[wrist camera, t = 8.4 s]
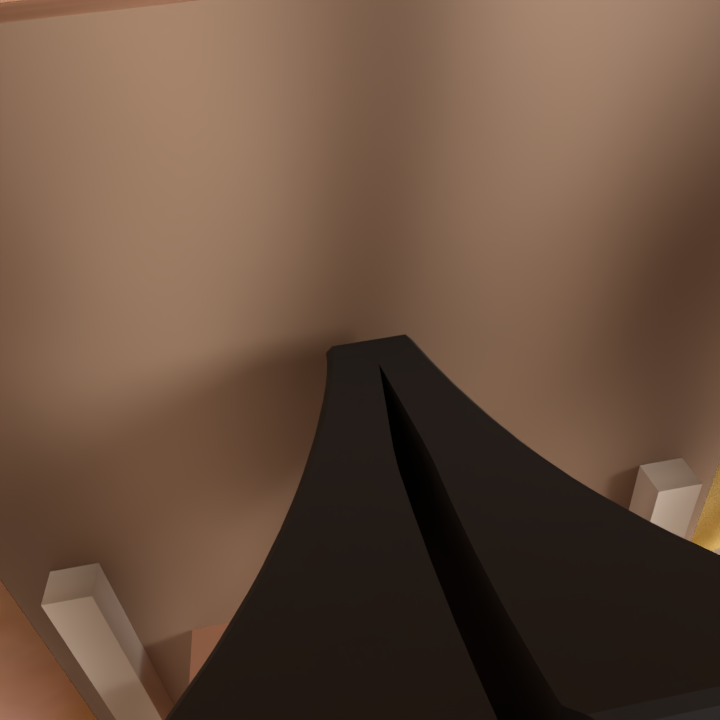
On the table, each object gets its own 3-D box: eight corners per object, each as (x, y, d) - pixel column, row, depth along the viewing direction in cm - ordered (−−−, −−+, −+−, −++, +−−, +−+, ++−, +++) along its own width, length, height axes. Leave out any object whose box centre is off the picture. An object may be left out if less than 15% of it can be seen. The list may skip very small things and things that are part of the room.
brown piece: (785, -85, 11) (966, -79, 8) (599, 636, 24) (645, 729, 21) (-231, 29, 9) (-414, 79, 7) (163, 723, 22) (154, 833, 20)
